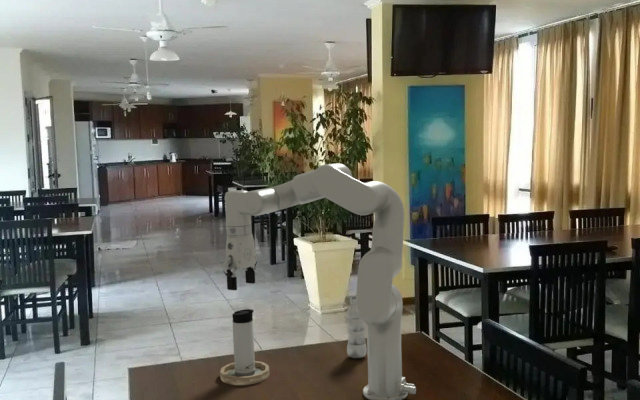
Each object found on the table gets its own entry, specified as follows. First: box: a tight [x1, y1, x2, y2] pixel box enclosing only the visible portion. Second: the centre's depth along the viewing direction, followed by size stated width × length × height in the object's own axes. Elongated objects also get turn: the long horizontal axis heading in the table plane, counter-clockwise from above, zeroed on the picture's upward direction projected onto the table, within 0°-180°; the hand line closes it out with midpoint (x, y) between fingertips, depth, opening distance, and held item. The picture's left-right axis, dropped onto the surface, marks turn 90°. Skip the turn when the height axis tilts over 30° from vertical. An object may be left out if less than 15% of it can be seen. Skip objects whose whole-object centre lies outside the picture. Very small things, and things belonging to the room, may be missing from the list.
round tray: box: [219, 360, 270, 386], centre depth 192 cm, size 15×15×2 cm
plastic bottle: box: [346, 296, 368, 359], centre depth 205 cm, size 6×7×20 cm
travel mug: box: [232, 308, 256, 377], centre depth 191 cm, size 6×7×20 cm
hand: (241, 286), depth 189 cm, fingers open, 9 cm apart
